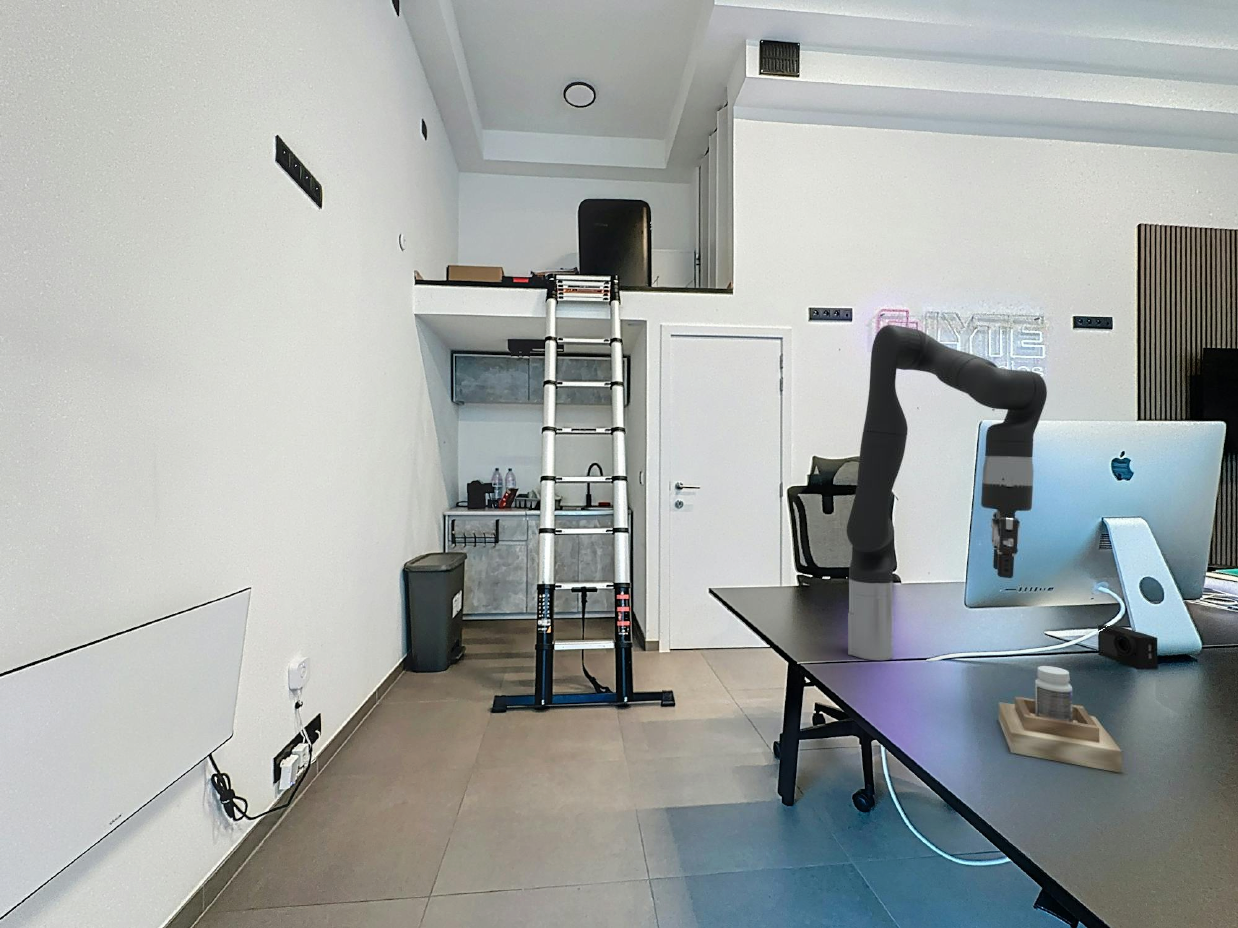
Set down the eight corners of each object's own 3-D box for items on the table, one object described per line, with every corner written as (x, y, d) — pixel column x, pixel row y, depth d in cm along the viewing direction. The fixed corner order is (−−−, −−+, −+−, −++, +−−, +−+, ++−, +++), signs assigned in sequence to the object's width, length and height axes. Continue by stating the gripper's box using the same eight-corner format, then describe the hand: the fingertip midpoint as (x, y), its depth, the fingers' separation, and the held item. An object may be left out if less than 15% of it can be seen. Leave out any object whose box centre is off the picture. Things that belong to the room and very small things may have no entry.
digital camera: (1092, 654, 135) (1092, 624, 135) (1115, 654, 135) (1114, 624, 135) (1133, 669, 125) (1132, 637, 125) (1157, 669, 125) (1157, 636, 125)
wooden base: (1011, 752, 87) (1011, 719, 87) (998, 719, 99) (998, 690, 99) (1121, 772, 81) (1121, 736, 81) (1094, 735, 93) (1094, 703, 93)
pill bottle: (1079, 731, 87) (1079, 675, 88) (1044, 728, 88) (1044, 673, 88) (1062, 718, 92) (1062, 665, 92) (1029, 716, 93) (1028, 663, 93)
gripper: (979, 480, 111) (975, 564, 111) (985, 482, 98) (980, 577, 99) (1027, 482, 107) (1022, 570, 107) (1039, 484, 95) (1034, 583, 95)
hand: (1002, 573), depth 103 cm, fingers open, 8 cm apart
